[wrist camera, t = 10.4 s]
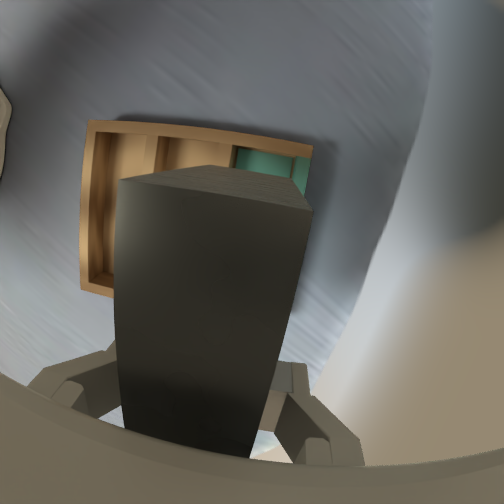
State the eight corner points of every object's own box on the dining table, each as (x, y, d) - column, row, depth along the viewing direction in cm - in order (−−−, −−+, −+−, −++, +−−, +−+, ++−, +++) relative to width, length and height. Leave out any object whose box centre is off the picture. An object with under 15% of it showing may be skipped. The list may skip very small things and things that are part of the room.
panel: (240, 420, 15) (221, 538, 8) (183, 408, 15) (144, 520, 8) (291, 178, 11) (313, 211, 4) (209, 164, 11) (118, 179, 5)
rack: (274, 311, 31) (273, 332, 28) (99, 274, 32) (80, 289, 28) (308, 147, 27) (313, 145, 23) (109, 122, 27) (88, 119, 23)
